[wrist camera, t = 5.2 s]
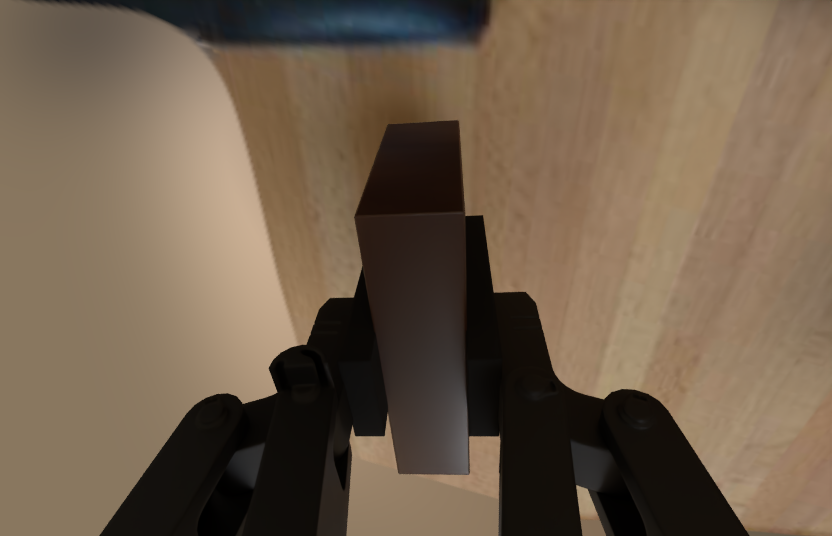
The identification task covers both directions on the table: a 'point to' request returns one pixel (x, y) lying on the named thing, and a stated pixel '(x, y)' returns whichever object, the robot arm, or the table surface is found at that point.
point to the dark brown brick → (419, 291)
